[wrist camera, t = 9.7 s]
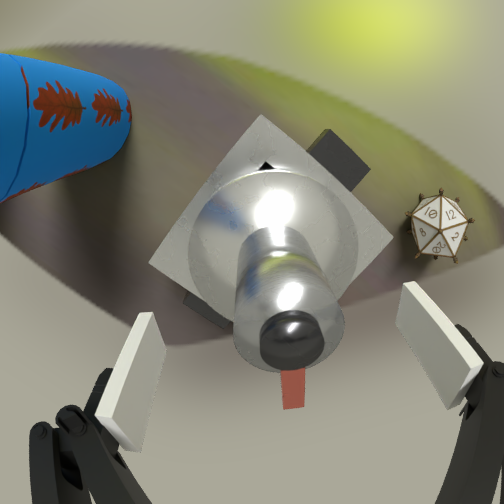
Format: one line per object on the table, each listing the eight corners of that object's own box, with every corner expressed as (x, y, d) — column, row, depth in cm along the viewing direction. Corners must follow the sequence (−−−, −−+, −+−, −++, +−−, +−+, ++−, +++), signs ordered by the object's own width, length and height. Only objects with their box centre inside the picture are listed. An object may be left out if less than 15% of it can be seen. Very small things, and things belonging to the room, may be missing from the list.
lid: (187, 174, 23) (113, 230, 10) (338, 159, 23) (437, 198, 10) (211, 304, 29) (190, 426, 15) (338, 290, 28) (392, 401, 15)
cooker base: (159, 247, 33) (133, 286, 24) (275, 98, 26) (286, 84, 18) (258, 314, 36) (261, 364, 28) (375, 190, 30) (415, 212, 22)
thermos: (139, 155, 28) (-63, 239, 5) (65, 176, 29) (-104, 263, 6) (128, 65, 24) (-60, 5, 1) (54, 95, 24) (-120, 108, 1)
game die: (414, 219, 35) (443, 282, 30) (377, 209, 32) (411, 284, 27) (457, 179, 29) (495, 245, 24) (426, 159, 25) (475, 238, 20)
